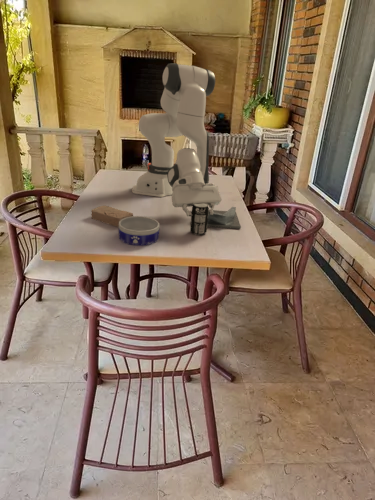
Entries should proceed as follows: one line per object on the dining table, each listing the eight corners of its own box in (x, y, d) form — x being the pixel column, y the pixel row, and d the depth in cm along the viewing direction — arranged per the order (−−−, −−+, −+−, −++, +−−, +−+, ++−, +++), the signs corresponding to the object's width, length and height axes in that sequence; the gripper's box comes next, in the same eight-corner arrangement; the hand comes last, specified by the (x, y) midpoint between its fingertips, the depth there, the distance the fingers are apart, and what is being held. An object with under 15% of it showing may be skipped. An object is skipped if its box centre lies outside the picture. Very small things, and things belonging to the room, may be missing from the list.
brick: (90, 219, 158) (89, 208, 156) (104, 213, 165) (103, 203, 163) (120, 229, 151) (120, 218, 149) (134, 223, 158) (134, 212, 156)
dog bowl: (160, 231, 152) (161, 217, 149) (157, 247, 138) (157, 232, 135) (122, 228, 151) (122, 214, 149) (115, 244, 138) (115, 229, 135)
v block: (192, 211, 175) (193, 200, 173) (235, 214, 176) (236, 203, 173) (193, 226, 159) (194, 214, 156) (240, 229, 159) (242, 217, 157)
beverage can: (198, 228, 157) (200, 200, 152) (209, 233, 153) (212, 205, 148) (186, 231, 153) (189, 203, 148) (198, 237, 149) (201, 208, 144)
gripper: (214, 187, 160) (221, 217, 156) (167, 188, 153) (174, 220, 149) (219, 179, 154) (227, 210, 150) (171, 180, 147) (178, 213, 143)
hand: (200, 215), depth 149 cm, fingers open, 8 cm apart
